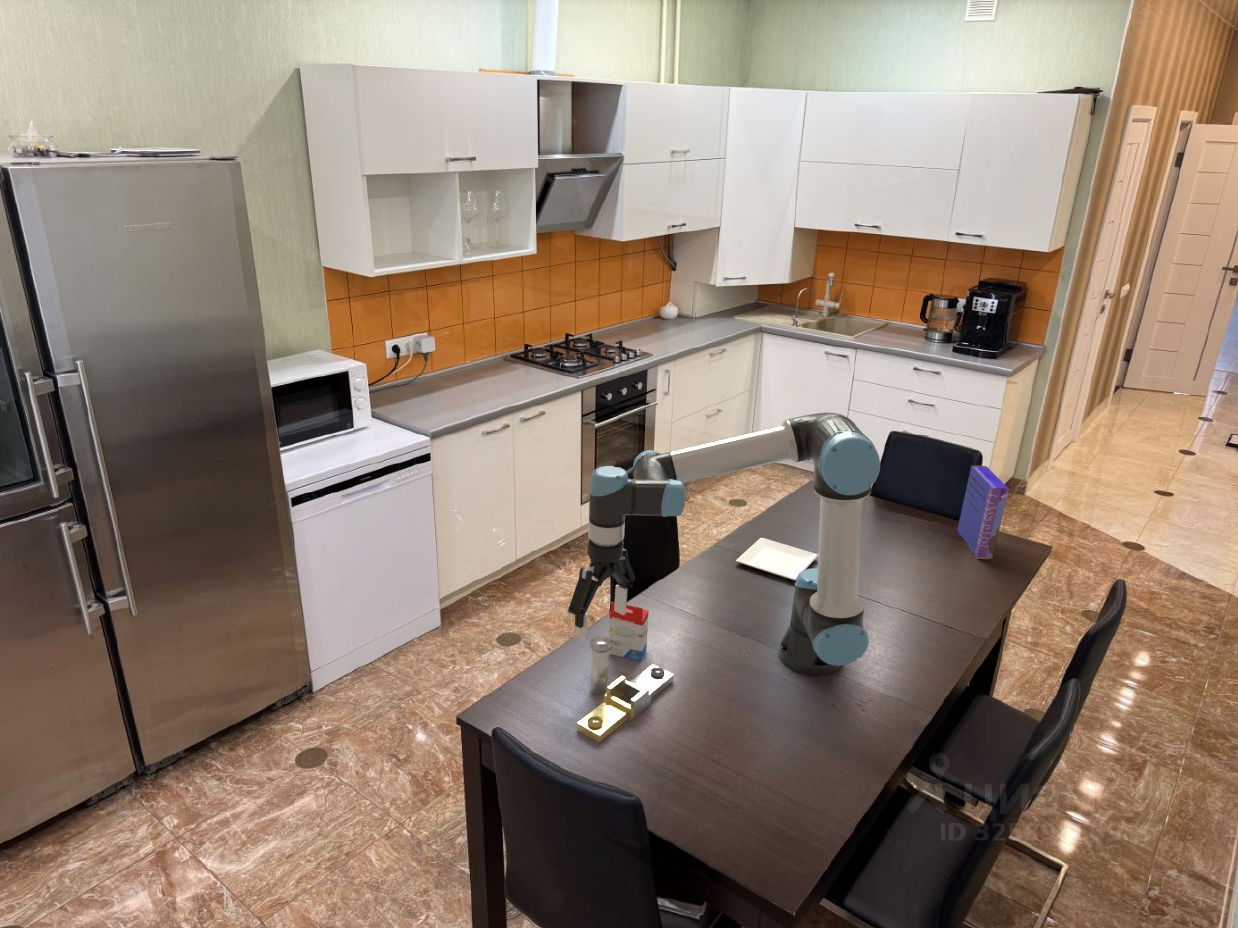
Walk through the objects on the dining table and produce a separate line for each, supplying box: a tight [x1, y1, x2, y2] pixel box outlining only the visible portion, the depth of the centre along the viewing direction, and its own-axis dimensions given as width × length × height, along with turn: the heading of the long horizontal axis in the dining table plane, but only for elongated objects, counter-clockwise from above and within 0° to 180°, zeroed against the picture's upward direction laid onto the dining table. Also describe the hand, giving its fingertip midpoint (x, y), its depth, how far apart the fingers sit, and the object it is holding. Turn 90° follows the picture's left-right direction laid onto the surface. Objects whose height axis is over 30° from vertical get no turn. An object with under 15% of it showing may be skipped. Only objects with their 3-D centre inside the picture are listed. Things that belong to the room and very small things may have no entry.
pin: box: [589, 635, 612, 697], centre depth 194 cm, size 5×5×13 cm
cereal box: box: [956, 464, 1010, 558], centre depth 267 cm, size 17×5×24 cm, turn 179°
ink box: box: [608, 601, 649, 662], centre depth 207 cm, size 8×5×15 cm, turn 71°
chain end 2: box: [624, 663, 675, 719], centre depth 195 cm, size 8×16×4 cm, turn 143°
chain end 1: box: [576, 675, 635, 744], centre depth 187 cm, size 8×16×4 cm, turn 143°
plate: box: [735, 537, 819, 582], centre depth 256 cm, size 19×19×2 cm
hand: (601, 624), depth 189 cm, fingers open, 13 cm apart
